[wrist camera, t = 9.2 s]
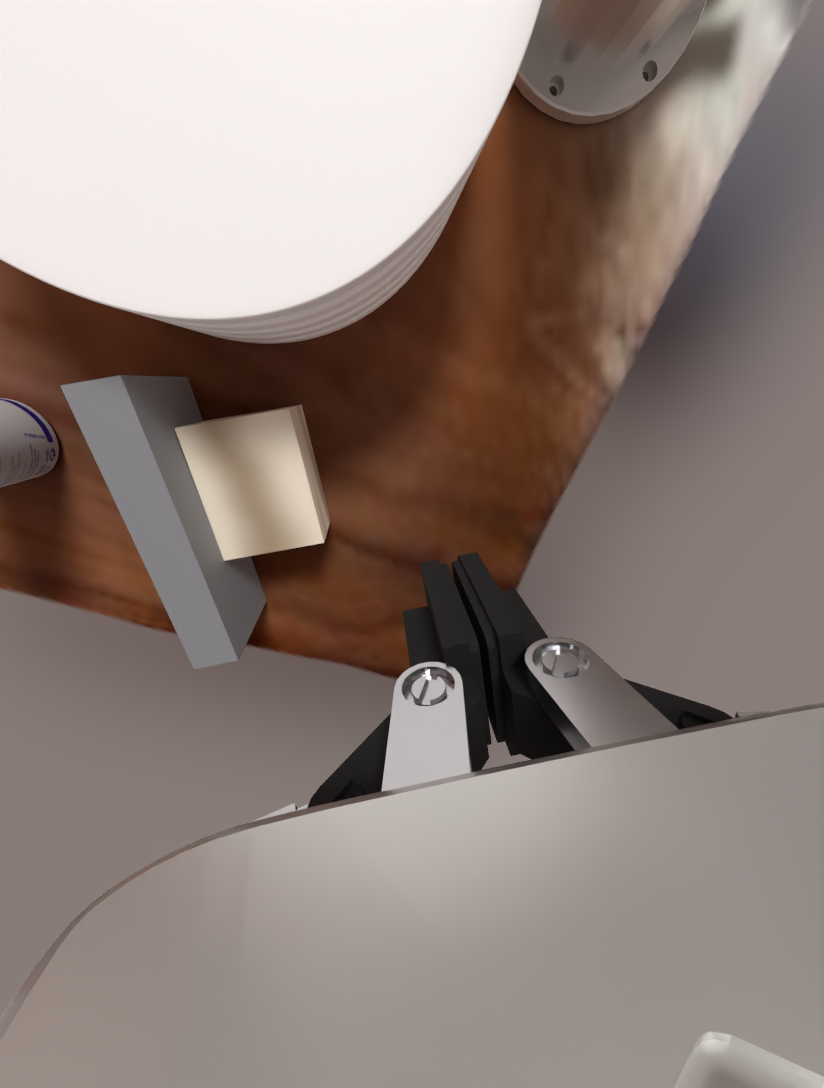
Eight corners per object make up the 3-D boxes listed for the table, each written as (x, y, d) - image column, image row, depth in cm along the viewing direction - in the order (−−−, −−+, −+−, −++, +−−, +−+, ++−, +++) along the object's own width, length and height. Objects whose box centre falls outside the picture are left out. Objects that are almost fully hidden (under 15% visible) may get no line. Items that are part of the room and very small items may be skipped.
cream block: (302, 404, 29) (289, 408, 24) (330, 519, 32) (324, 542, 28) (205, 420, 29) (174, 428, 24) (245, 535, 32) (224, 560, 28)
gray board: (187, 376, 27) (120, 375, 20) (266, 600, 34) (238, 660, 27) (143, 384, 27) (60, 385, 20) (232, 607, 34) (194, 669, 27)
